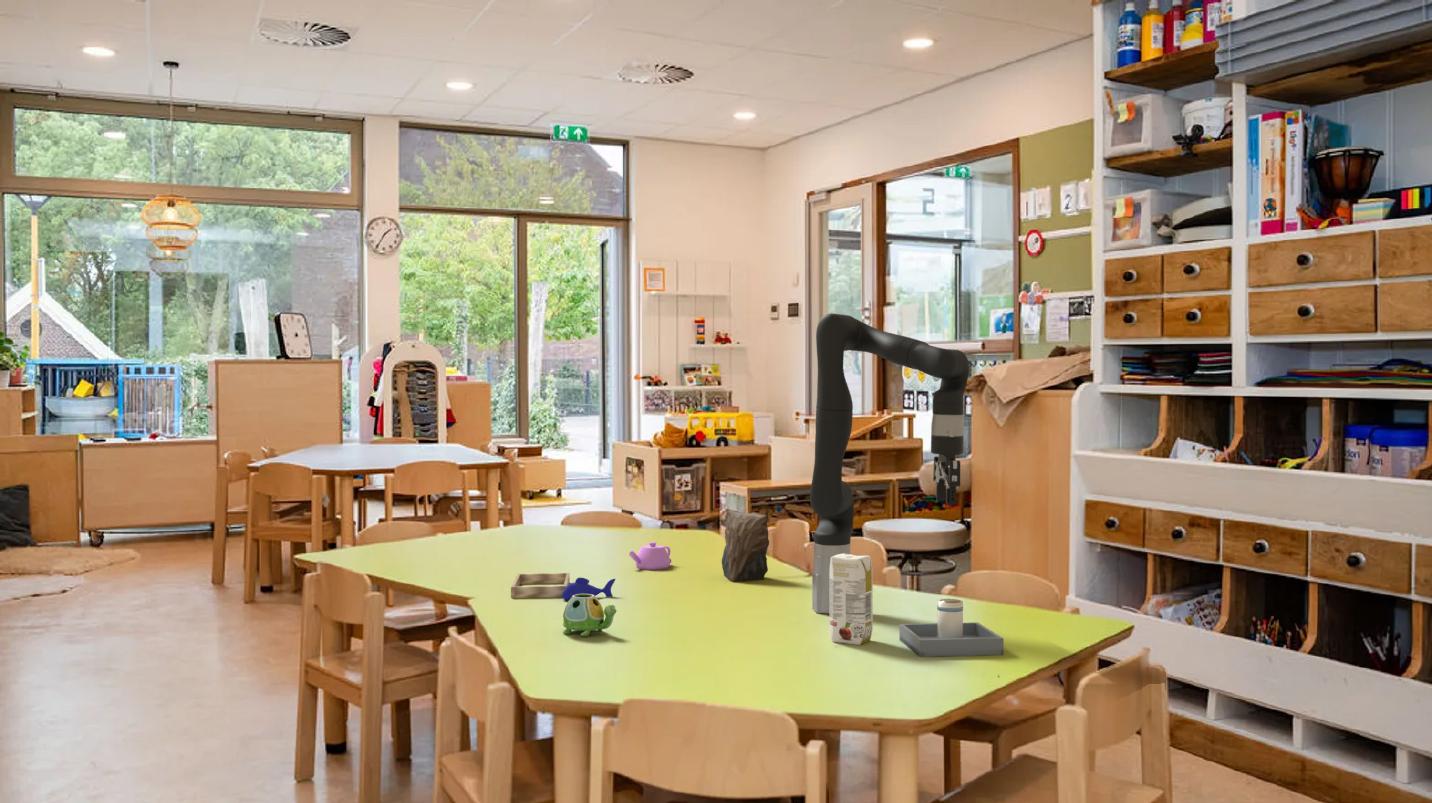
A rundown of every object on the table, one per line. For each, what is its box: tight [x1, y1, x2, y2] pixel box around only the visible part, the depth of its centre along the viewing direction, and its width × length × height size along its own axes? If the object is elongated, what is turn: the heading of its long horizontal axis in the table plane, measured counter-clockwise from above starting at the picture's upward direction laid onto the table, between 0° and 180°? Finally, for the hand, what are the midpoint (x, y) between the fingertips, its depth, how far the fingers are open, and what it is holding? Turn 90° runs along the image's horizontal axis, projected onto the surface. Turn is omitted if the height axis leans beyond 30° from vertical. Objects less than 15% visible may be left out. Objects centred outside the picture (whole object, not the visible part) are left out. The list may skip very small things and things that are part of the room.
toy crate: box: [510, 572, 571, 599], centre depth 302 cm, size 15×22×4 cm
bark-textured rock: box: [721, 511, 770, 583], centre depth 323 cm, size 13×13×20 cm
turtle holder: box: [562, 594, 617, 637], centre depth 253 cm, size 9×13×9 cm
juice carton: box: [829, 553, 874, 646], centre depth 244 cm, size 8×9×19 cm
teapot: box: [628, 541, 672, 571], centre depth 338 cm, size 10×15×9 cm
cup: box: [936, 598, 964, 639], centre depth 238 cm, size 6×6×9 cm
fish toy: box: [561, 577, 616, 602], centre depth 291 cm, size 15×8×7 cm, turn 118°
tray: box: [899, 621, 1004, 658], centre depth 238 cm, size 18×16×4 cm
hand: (945, 502), depth 259 cm, fingers open, 8 cm apart
